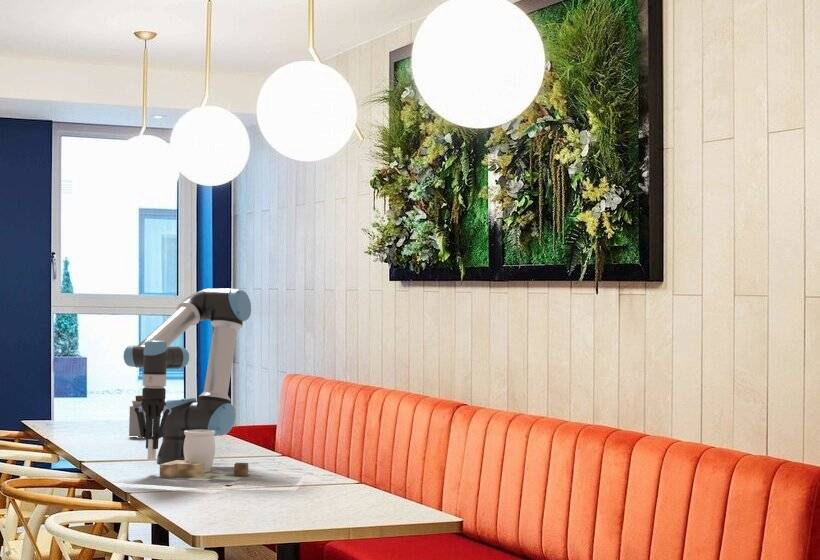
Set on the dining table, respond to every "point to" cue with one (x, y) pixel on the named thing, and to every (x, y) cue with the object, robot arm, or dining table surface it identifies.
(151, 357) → the robot arm
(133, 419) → the perfume bottle
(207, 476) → the mat
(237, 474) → the walnut cube
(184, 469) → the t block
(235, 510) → the dining table surface
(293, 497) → the dining table surface
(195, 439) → the jar
